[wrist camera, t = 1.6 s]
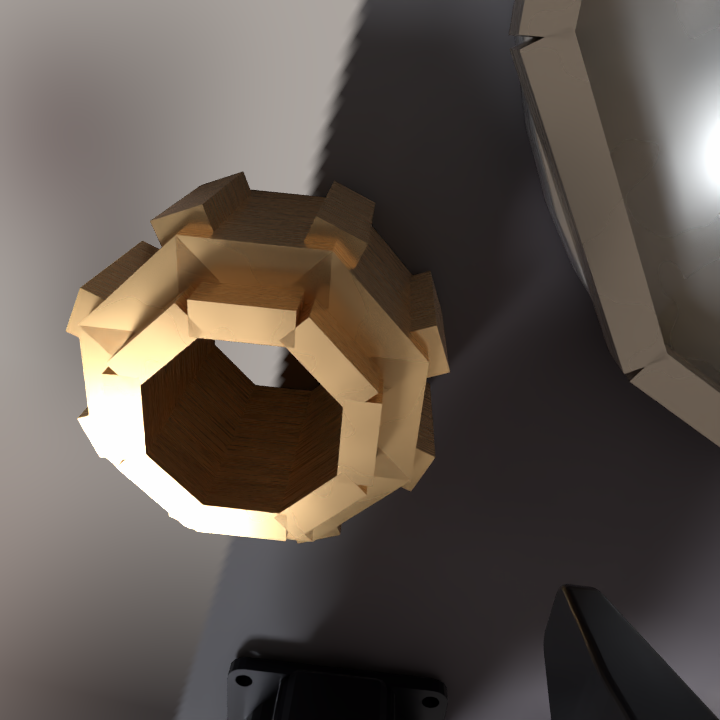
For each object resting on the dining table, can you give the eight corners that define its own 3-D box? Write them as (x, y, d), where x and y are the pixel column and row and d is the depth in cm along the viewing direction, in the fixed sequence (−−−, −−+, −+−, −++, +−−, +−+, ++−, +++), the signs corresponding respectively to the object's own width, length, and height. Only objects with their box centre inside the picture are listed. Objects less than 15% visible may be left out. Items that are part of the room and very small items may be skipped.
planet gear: (415, 463, 15) (419, 602, 12) (147, 433, 16) (64, 562, 12) (458, 189, 12) (482, 254, 9) (126, 155, 13) (4, 206, 9)
